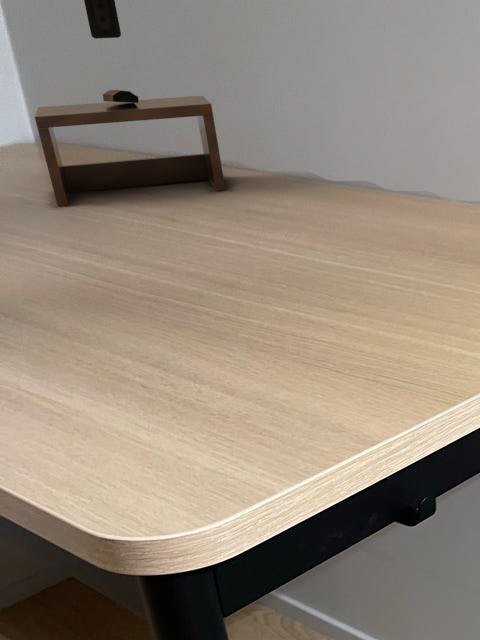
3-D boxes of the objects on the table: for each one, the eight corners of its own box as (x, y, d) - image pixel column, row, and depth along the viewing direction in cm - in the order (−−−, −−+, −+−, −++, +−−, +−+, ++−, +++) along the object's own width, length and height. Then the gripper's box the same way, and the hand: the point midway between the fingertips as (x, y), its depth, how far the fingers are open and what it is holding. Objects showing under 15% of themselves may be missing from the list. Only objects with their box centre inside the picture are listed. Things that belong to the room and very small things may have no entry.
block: (113, 109, 117) (110, 91, 116) (102, 104, 121) (99, 87, 120) (144, 106, 118) (141, 89, 117) (132, 101, 123) (129, 85, 122)
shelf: (57, 206, 119) (34, 116, 114) (59, 191, 127) (37, 107, 121) (225, 190, 124) (211, 103, 118) (217, 177, 132) (203, 95, 126)
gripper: (34, -142, 112) (73, 35, 121) (27, -161, 98) (71, 40, 108) (104, -142, 114) (136, 33, 123) (106, -161, 100) (142, 37, 110)
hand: (106, 36), depth 115 cm, fingers open, 9 cm apart
